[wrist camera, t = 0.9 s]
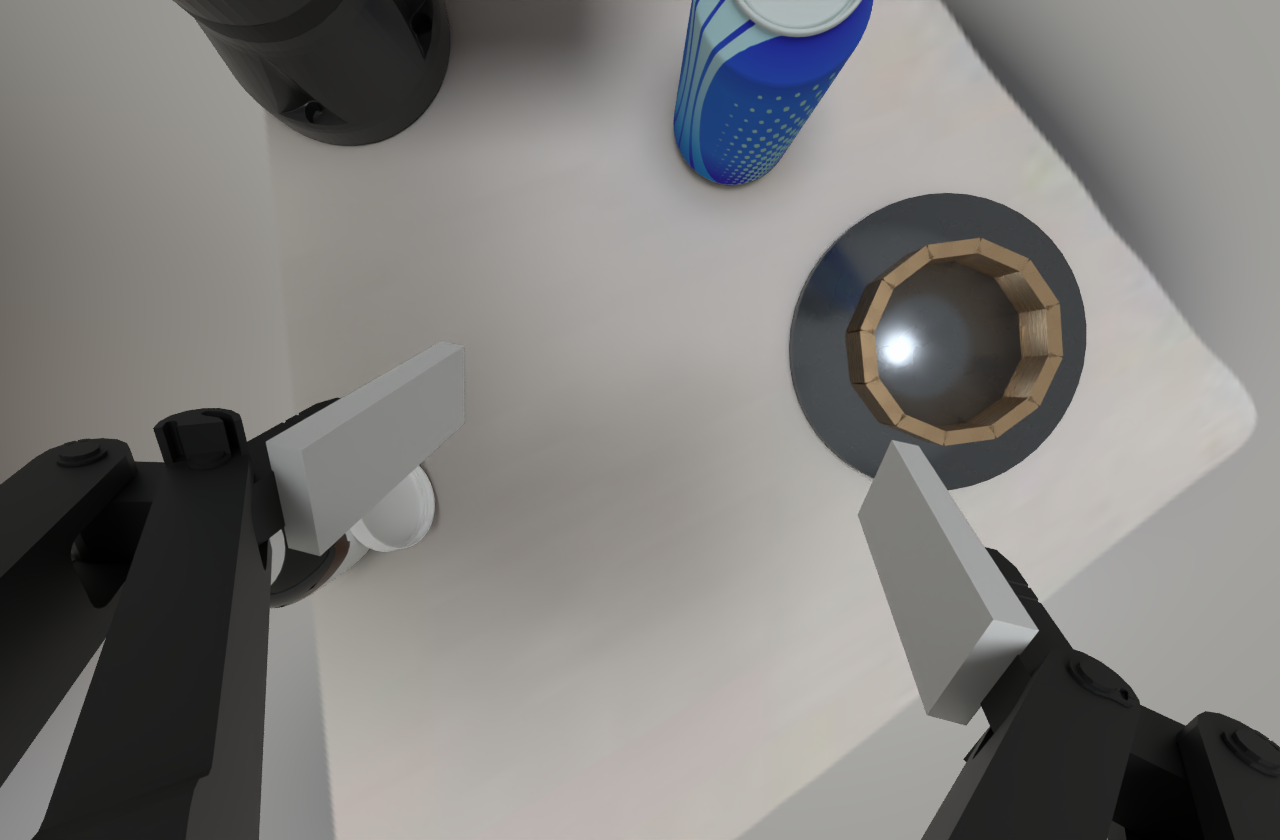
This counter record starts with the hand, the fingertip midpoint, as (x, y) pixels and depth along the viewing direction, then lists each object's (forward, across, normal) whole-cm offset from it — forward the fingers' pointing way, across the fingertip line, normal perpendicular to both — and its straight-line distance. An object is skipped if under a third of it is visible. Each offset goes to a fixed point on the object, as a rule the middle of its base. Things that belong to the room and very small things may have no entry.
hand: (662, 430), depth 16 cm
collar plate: (+27, +18, -2) cm, 32 cm away
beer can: (+30, -1, +10) cm, 31 cm away
